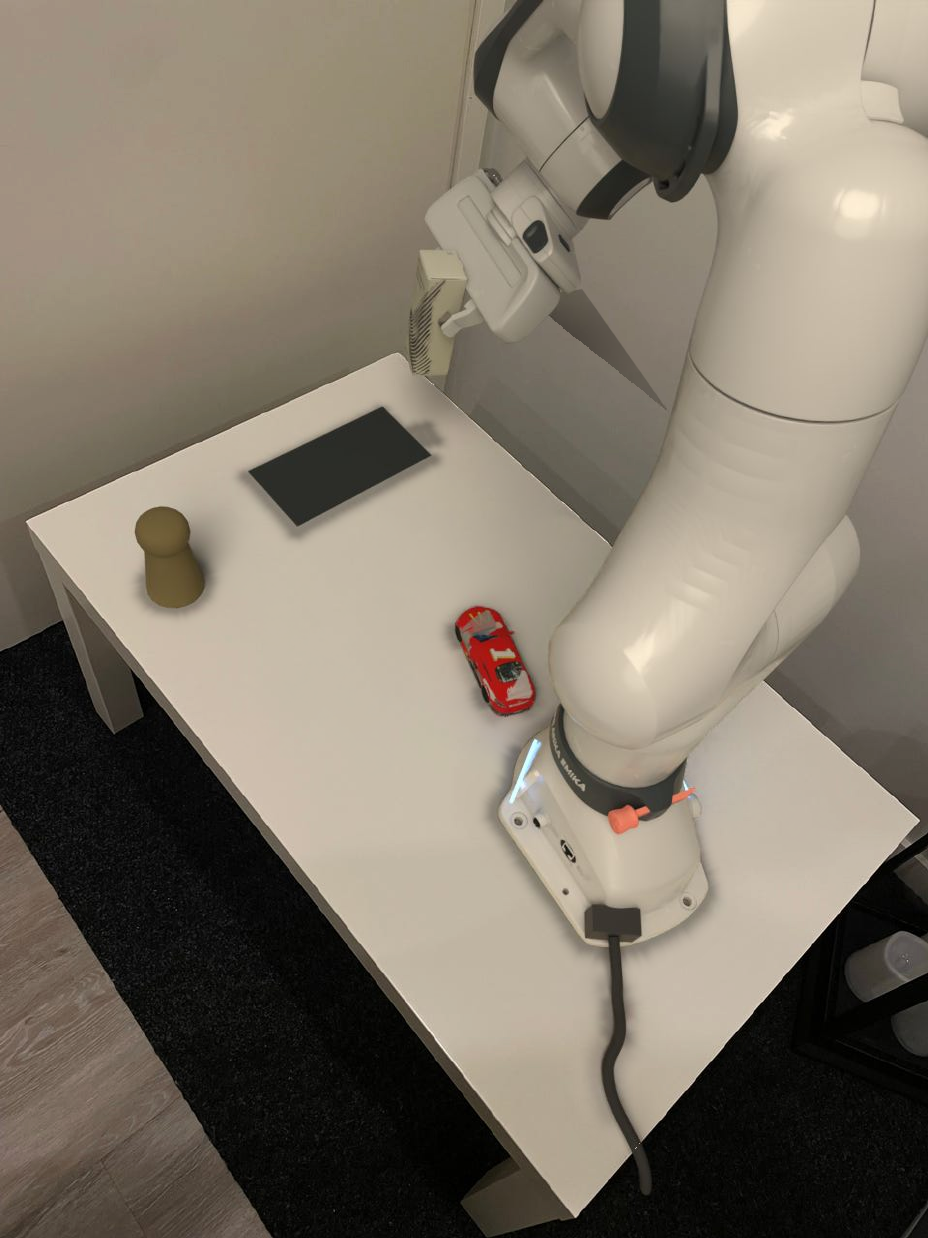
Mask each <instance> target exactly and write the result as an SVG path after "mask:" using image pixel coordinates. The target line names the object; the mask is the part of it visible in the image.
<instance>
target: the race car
mask: <svg viewBox="0 0 928 1238" xmlns="http://www.w3.org/2000/svg"><path fill="white" fill-rule="evenodd" d="M454 632H455V636H456V639H457V640H458V642H459V643H460V646H461V648H462V651H463V653H464V655H465V657H466V660H467V662H468V664H469V666H470V668H471V670H472V673H473V675H474V678H475V680H476V683H477V684H478V686H479V688H480V689H481V694H482V697H483V700H484V702H485V703H486V704H488V707H489V708H490V710H491V711H492V712H493V713H494V714H495V715H497V716H499V717H505V718H506V717H509V716H514V715H517V714H521V713H523V712H525V711H529V710H531V708H532V707H533V705H534V703H535V701H536V690H535V686H534V683H533V680H532V677H531V674H530V673H529V670H528V669H527V667H526V665H525V662H524V661H523V658H522V656H521V653H520V651H519V650H518V647H517V646H516V643H515V641H514V639H513V636H512V635H514V634H515V633H516V632H515V630H514V631H512V630H509V629H508V627H507V625H506V623H505V622H504V619H503V617H502V615H501V614H500V612H498V611H497V610H495V609H493V608H490V607H485V606H481V605H480V606H478V605H477V606H473V607H472V606H471V607H470V608H468V609H466V610H465V611H463V612H462V613H461V614H460V615H459V616H458V618H457V619H456V621H455V623H454Z"/></svg>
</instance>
